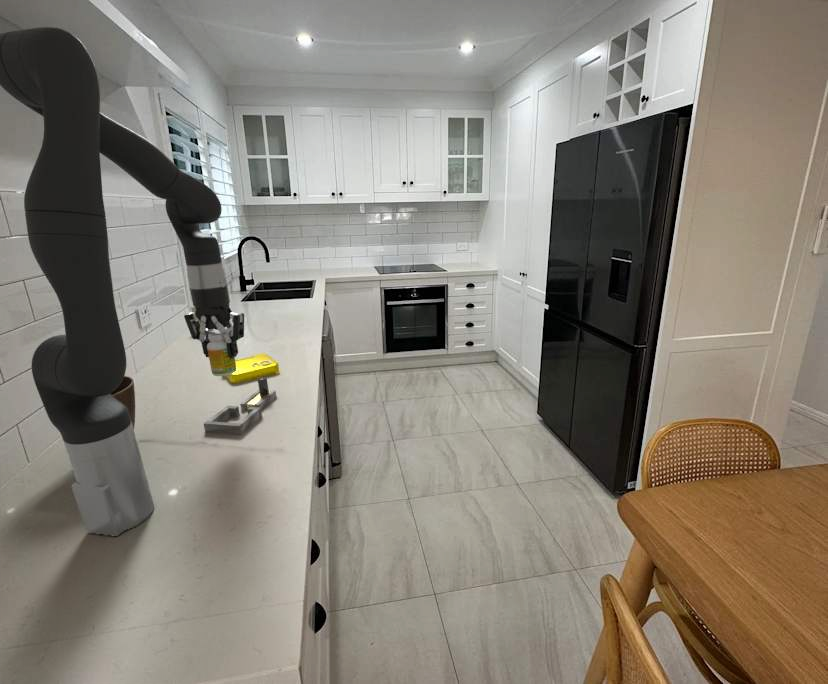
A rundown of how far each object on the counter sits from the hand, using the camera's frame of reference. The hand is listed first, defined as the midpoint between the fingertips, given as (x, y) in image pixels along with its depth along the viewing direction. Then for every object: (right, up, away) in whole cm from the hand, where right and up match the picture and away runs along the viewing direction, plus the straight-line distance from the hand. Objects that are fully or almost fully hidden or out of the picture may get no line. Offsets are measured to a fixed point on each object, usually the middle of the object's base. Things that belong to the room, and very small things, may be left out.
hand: (221, 356), depth 99 cm
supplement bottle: (0, -4, +1) cm, 4 cm away
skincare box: (-48, +7, +90) cm, 103 cm away
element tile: (-8, -8, +40) cm, 42 cm away
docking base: (+2, -16, +11) cm, 20 cm away
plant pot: (-23, -22, -4) cm, 32 cm away
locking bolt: (+3, -13, +16) cm, 21 cm away
